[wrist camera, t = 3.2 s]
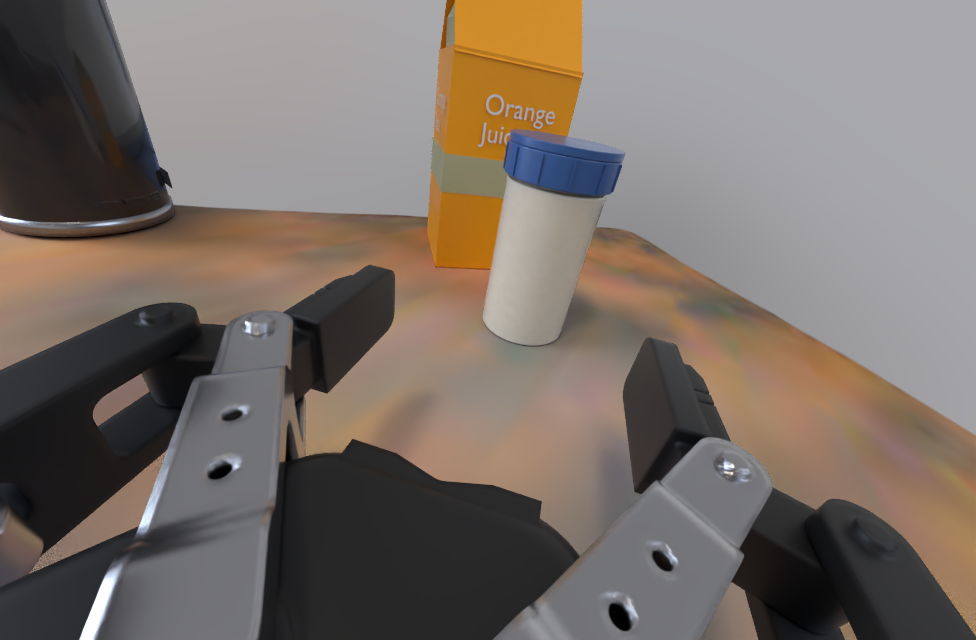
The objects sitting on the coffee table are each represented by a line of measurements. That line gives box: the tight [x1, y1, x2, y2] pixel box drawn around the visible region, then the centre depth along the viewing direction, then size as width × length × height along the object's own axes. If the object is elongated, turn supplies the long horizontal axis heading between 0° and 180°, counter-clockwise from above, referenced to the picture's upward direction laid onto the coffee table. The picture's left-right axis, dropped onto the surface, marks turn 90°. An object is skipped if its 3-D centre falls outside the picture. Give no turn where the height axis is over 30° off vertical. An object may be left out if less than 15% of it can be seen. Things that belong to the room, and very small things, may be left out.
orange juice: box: [427, 0, 583, 269], centre depth 27 cm, size 8×9×20 cm
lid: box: [503, 129, 625, 195], centre depth 18 cm, size 6×6×2 cm
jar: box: [482, 174, 606, 346], centre depth 21 cm, size 5×5×11 cm
